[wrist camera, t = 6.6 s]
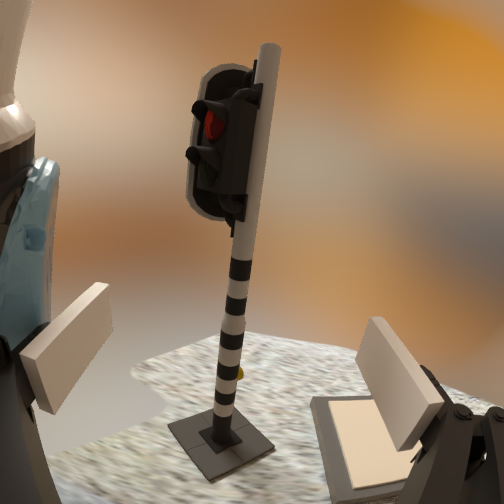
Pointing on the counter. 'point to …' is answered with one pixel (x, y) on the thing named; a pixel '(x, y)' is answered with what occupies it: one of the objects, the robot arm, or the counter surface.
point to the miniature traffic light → (242, 230)
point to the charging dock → (358, 450)
